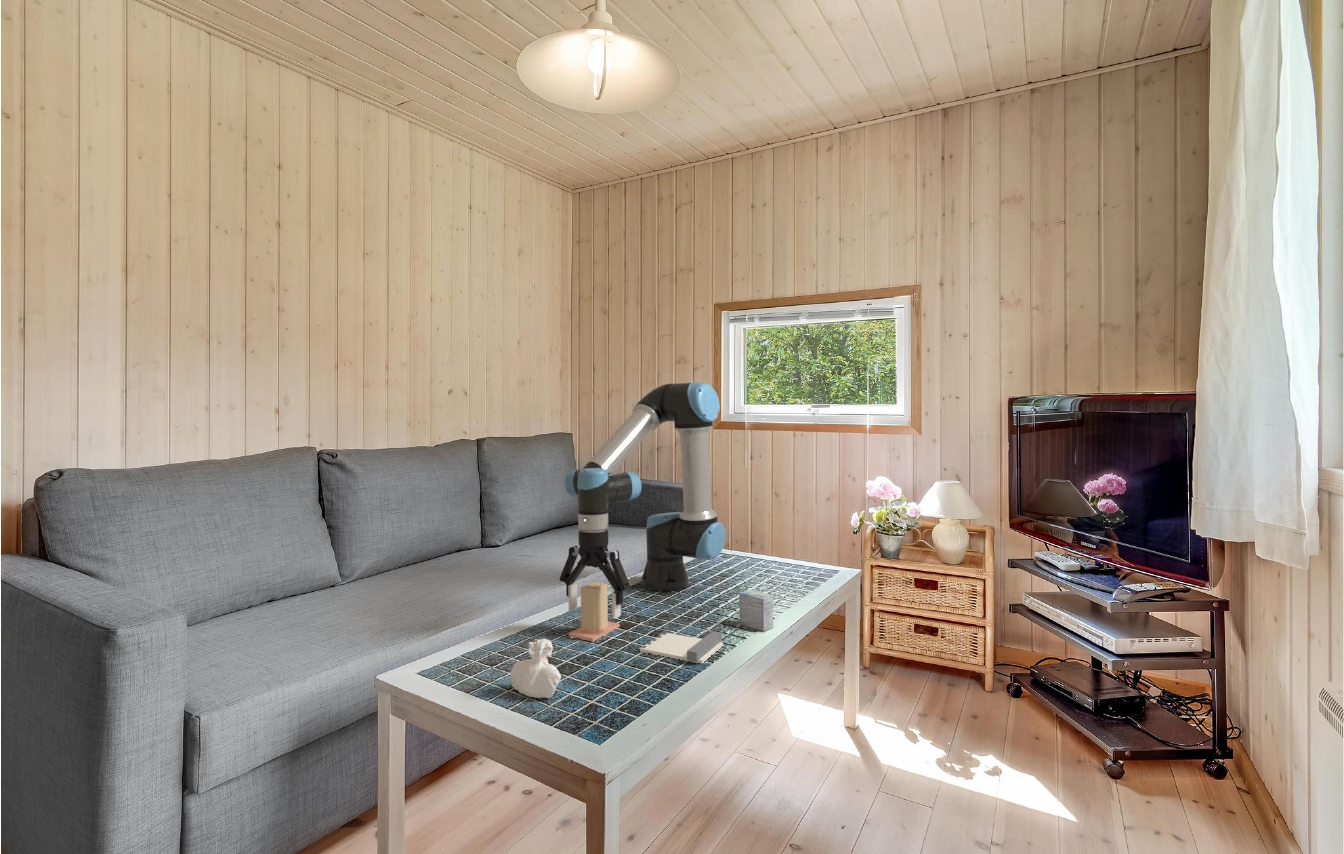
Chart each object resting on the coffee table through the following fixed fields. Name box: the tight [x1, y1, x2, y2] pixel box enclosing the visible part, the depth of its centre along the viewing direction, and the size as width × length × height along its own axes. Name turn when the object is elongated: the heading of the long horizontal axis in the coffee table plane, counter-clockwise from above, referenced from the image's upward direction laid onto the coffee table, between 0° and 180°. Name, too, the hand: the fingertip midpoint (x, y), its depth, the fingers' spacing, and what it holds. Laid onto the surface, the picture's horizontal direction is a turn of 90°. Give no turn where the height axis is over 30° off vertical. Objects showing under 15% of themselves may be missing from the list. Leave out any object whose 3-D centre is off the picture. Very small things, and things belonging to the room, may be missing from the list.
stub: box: [568, 581, 621, 643], centre depth 163 cm, size 7×12×12 cm, turn 152°
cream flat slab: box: [639, 630, 724, 665], centre depth 152 cm, size 16×14×3 cm
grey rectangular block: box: [738, 589, 774, 632], centre depth 167 cm, size 8×4×9 cm, turn 47°
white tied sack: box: [509, 638, 562, 699], centre depth 130 cm, size 12×8×11 cm
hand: (594, 613), depth 163 cm, fingers open, 13 cm apart
